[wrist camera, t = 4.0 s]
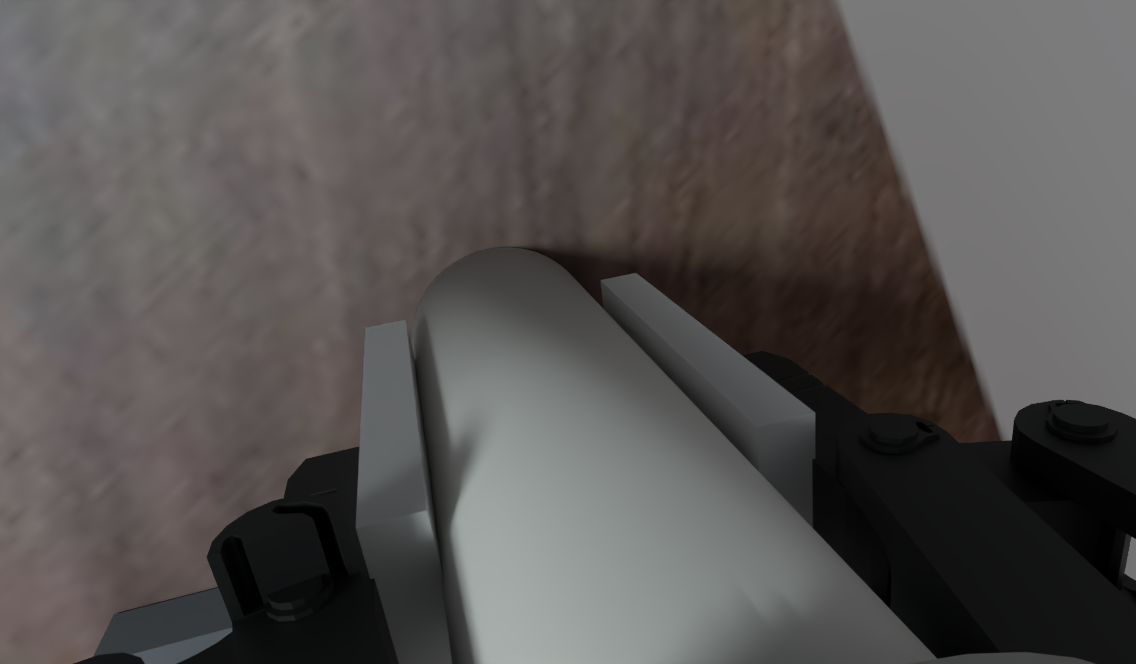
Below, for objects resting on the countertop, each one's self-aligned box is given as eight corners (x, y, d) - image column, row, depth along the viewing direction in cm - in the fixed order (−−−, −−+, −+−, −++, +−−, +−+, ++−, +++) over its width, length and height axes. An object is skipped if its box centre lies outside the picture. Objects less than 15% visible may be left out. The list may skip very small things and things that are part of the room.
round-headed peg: (344, 236, 14) (81, 1527, 2) (611, 188, 15) (1749, 755, 3) (403, 474, 16) (493, 1877, 4) (635, 418, 17) (1343, 1366, 5)
